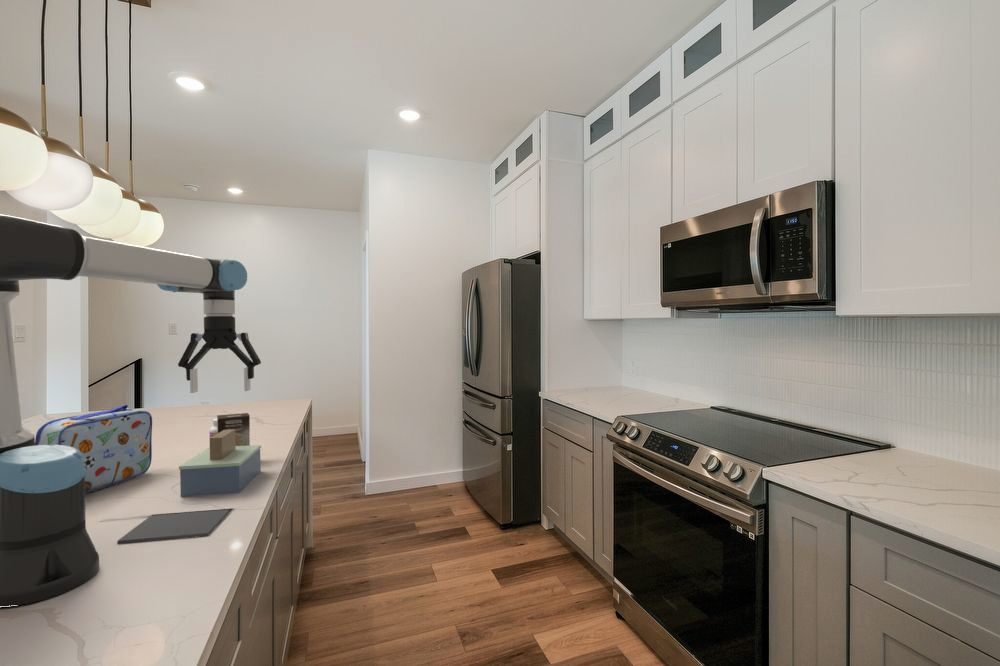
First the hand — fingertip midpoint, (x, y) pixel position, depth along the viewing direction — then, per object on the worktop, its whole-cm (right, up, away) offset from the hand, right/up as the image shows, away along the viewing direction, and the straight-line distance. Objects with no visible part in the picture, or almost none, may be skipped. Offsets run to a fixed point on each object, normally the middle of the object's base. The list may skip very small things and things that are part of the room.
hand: (221, 391), depth 129 cm
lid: (0, -20, 0) cm, 20 cm away
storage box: (0, -27, +1) cm, 27 cm away
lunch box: (-35, -27, +2) cm, 44 cm away
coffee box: (-8, -27, +20) cm, 34 cm away
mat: (+5, -27, -21) cm, 35 cm away
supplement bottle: (-18, -26, +30) cm, 44 cm away
